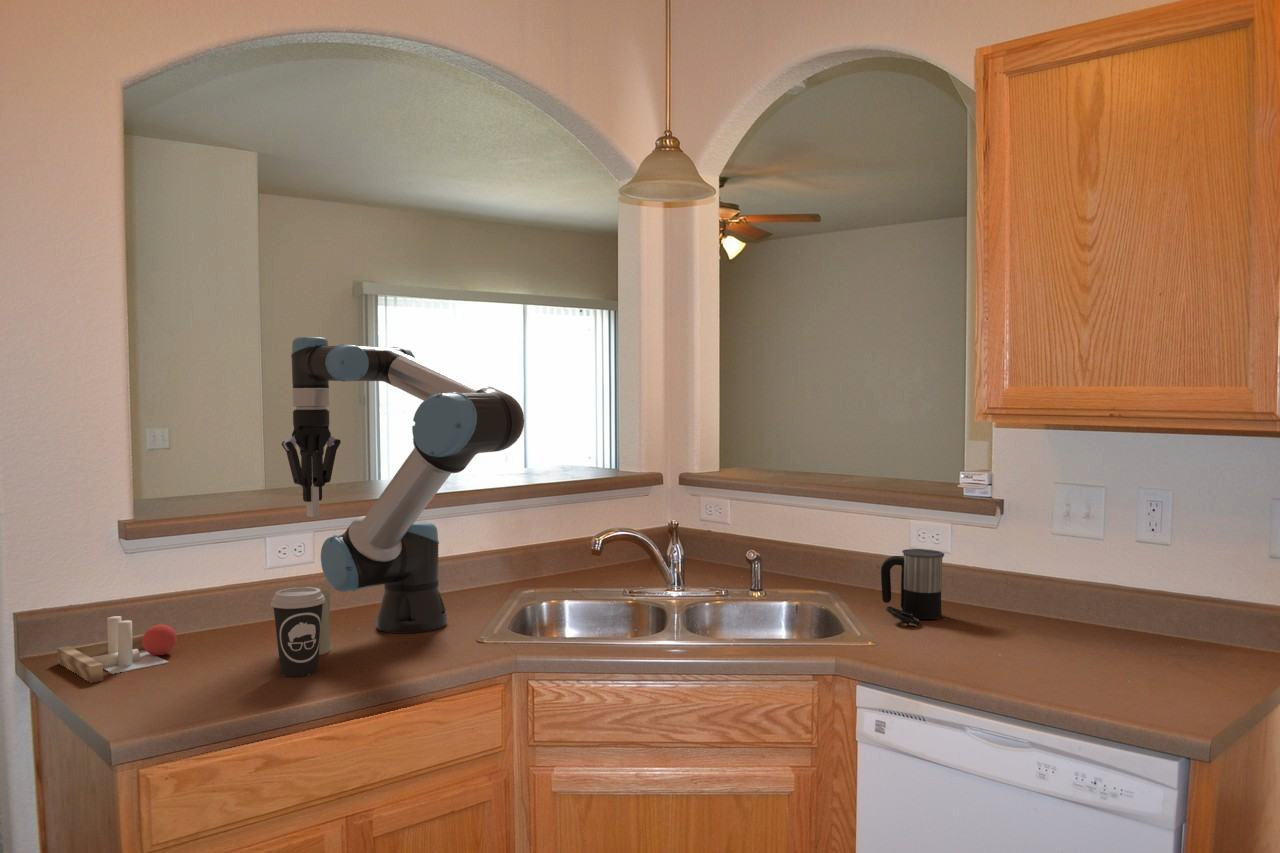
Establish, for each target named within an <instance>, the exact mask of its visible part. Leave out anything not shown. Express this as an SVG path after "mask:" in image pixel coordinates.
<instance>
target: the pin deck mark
mask: <svg viewBox="0 0 1280 853" xmlns="http://www.w3.org/2000/svg"><path fill="white" fill-rule="evenodd" d="M139 653H140V660H139V661H134V662H133V665H132V666H129V667H118V665H113V666H108V667H103V669H104V670H103V671H105V670H106V671H105V672H107V671H108V672H107V673H109V674H111V675H116V674H120V672H121V673H124V672H130V671H135V670H140V669H145V668H150V667H155V666H160V665H164V664H165V665H166V664H169V661H168V660H166V659H164V658H162V657H160V656H156V655H152V654H150V653H148V652H147V651H146V650H143V651H139ZM115 673H116V674H115Z"/></svg>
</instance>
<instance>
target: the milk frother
mask: <svg viewBox="0 0 1280 853" xmlns="http://www.w3.org/2000/svg"><path fill="white" fill-rule="evenodd" d="M901 552H902V553H903V555H892V556H889V557H888V558H886V559H885V560H884V561H883V563H882V565H881V568H880V578H881V579H880V580H881V582H880V584H881V597H882V598H881V599H882V601H883V603H885V604H888V603H890V602H891V600H892V581H891V570H892V568H893V567H894V566H901V573H900V575H901V576H900V578H901V579H900V608H901V610H900V609H899V608H895V607H892V606H888V605H887V606H886V608H885V611H886V612H887V613H889V614H890V615H892V616H893V617H895V618H897V619H898V620H900V621H901V622H902V623H904V624H907V626H909V624H912V625H919V624H920V623H921V620H919V619H936V620H938V619H937V618H940V619H942V618H943V614H942V613H943V612H942V578H943V559H944V557H945V553H944V552H942V551H939V550H935V549H934V550H933V549H921V548H908V549H903V550H902V551H901ZM941 617H942V618H941Z"/></svg>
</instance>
